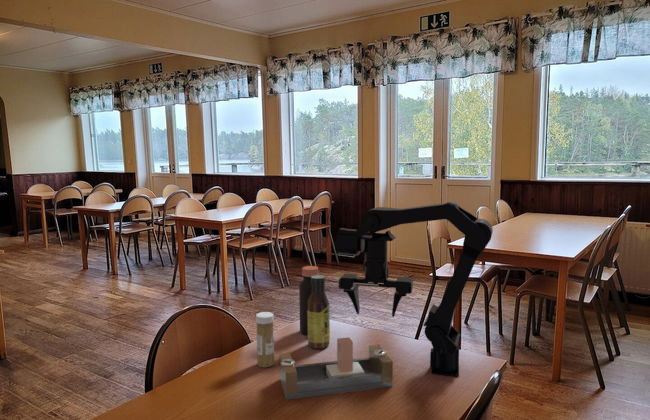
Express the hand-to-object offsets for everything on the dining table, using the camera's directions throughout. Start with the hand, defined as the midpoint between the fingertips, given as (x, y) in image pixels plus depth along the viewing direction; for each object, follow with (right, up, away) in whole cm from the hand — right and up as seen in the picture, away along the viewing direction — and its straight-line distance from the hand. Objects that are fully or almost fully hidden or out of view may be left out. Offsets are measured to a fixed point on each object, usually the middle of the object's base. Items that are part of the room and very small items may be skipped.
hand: (375, 315), depth 126 cm
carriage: (-8, -12, -11) cm, 18 cm away
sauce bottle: (-15, -11, +11) cm, 22 cm away
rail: (-10, -14, -11) cm, 20 cm away
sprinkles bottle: (-29, -13, -1) cm, 31 cm away
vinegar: (-17, -10, +21) cm, 29 cm away
